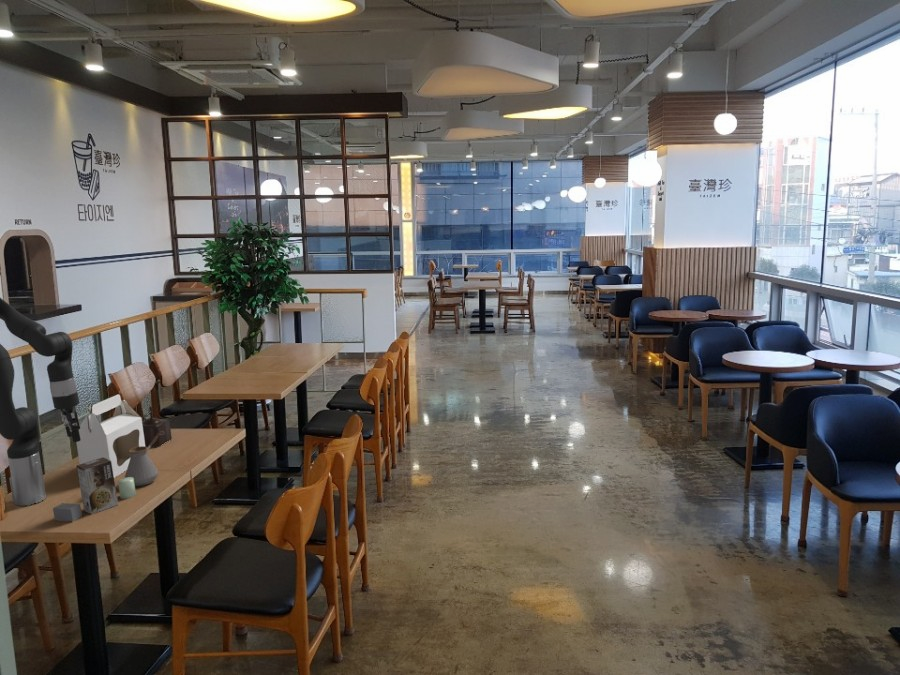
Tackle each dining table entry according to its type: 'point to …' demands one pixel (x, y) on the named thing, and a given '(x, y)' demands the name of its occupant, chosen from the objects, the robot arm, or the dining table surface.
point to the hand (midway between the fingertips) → (74, 438)
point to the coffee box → (97, 485)
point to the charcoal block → (67, 512)
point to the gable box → (110, 434)
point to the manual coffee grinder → (155, 430)
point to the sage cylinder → (126, 487)
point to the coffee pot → (142, 465)
